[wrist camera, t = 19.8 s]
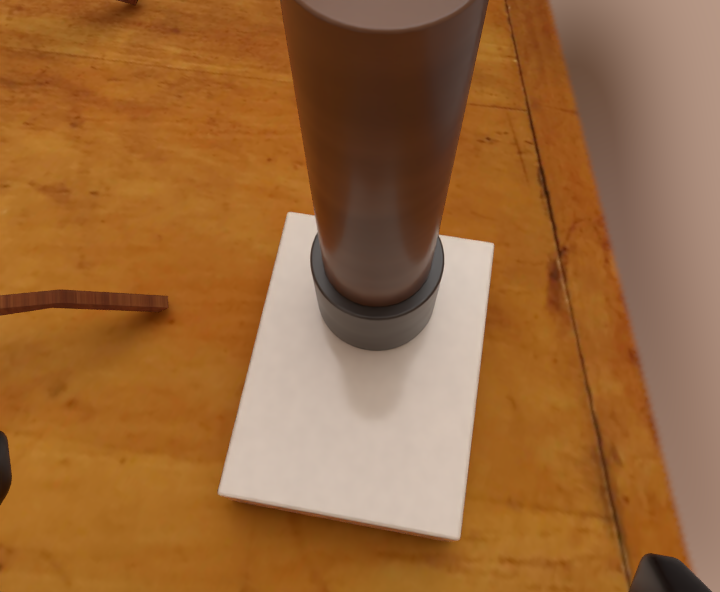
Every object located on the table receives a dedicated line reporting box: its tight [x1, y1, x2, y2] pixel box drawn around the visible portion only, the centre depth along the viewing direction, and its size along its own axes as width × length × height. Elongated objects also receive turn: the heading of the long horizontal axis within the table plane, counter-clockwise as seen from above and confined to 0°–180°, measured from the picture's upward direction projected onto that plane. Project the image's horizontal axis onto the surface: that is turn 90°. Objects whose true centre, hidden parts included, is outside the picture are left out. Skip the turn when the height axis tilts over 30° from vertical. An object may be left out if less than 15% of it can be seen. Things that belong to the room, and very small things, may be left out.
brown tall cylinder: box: [280, 0, 489, 351], centre depth 13 cm, size 3×3×11 cm
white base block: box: [218, 212, 494, 542], centre depth 18 cm, size 8×6×2 cm
